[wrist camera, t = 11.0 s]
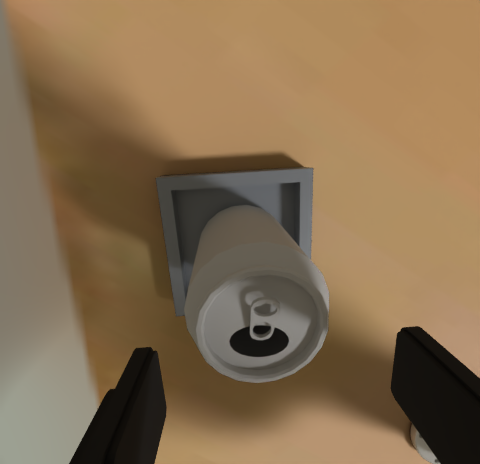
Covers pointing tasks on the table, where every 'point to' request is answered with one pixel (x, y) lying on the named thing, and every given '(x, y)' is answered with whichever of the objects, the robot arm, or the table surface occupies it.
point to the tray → (222, 197)
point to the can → (255, 298)
